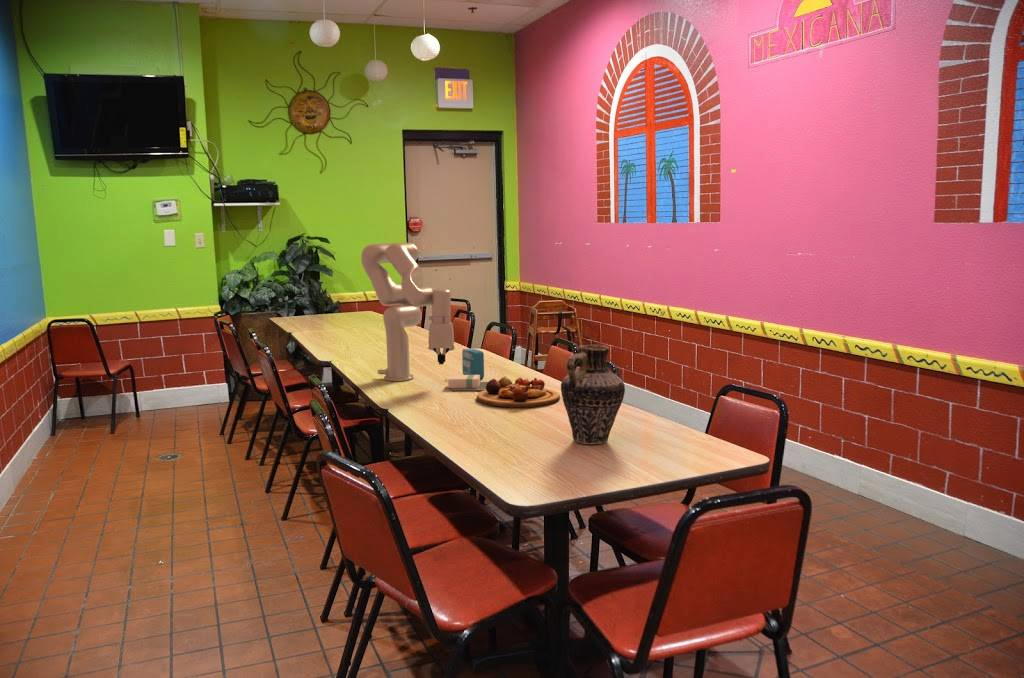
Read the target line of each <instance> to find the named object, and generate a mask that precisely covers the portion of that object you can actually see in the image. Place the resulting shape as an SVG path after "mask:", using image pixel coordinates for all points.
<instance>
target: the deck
mask: <svg viewBox="0 0 1024 678" xmlns="http://www.w3.org/2000/svg"><path fill="white" fill-rule="evenodd" d="M447 380H448V385H447V386H448V387H447V388H448V389H453V388H478V387H479V385H480V382H481V379H480V375H463V374H451V375H450V376H449V378H448V379H447Z"/></svg>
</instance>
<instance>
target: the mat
mask: <svg viewBox="0 0 1024 678" xmlns="http://www.w3.org/2000/svg"><path fill="white" fill-rule="evenodd" d="M488 382H489V381H480V385H479V387H478V388H451V392H481V391H484V390H486V385H487V383H488Z"/></svg>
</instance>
